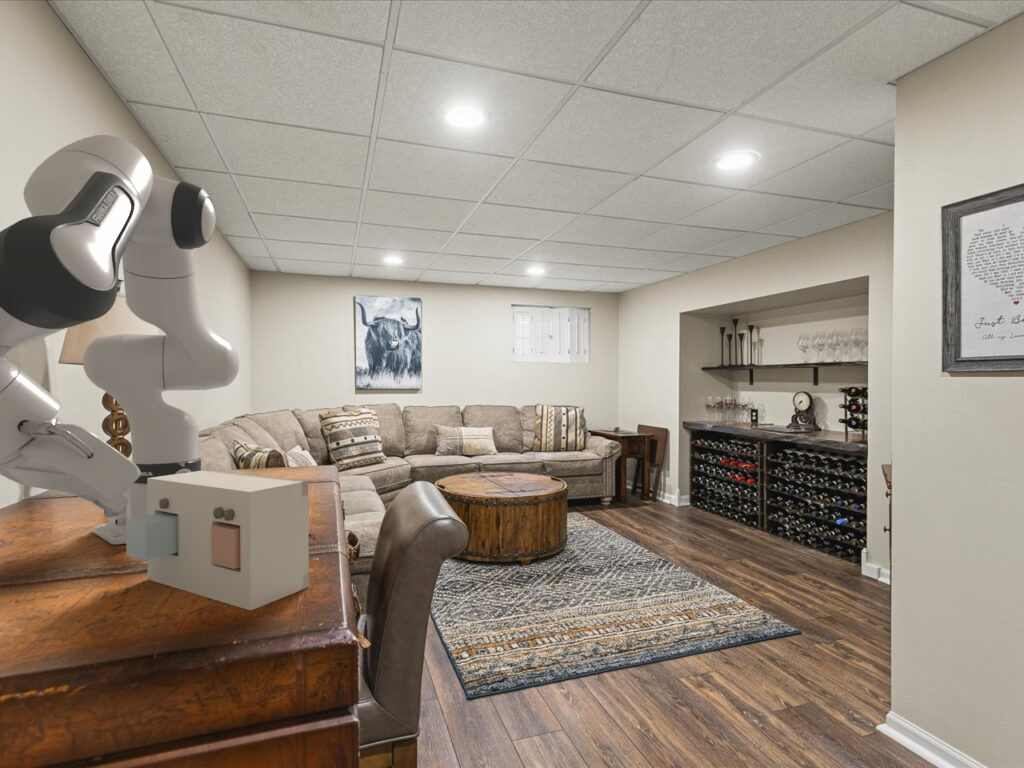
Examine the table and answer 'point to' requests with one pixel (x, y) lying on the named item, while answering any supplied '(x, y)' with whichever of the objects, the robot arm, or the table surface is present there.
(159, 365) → the robot arm
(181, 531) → the block
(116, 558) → the table surface
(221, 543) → the button two
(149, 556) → the button one
